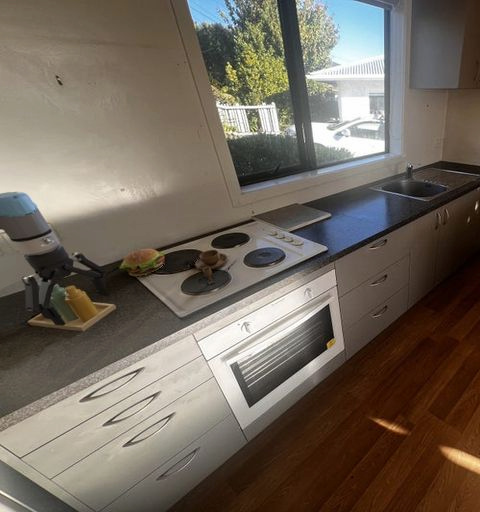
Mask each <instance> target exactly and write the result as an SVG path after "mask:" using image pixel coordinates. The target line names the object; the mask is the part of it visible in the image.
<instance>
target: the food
mask: <svg viewBox="0 0 480 512" xmlns="http://www.w3.org/2000/svg"><path fill="white" fill-rule="evenodd" d="M165 258H166V257H165V253H164V252H162V251H157V250H156V249H154V248H142V249H137V250H135V251H133V252H130V253H128V254H127V255H126V256H125V257H124V259H123V260H122V262H121V264H120V265H119V266H118V268H119V269H120V271H121V272H128V275H130V276H132V277H137V276H139V277H141V276H140V275H145V274H148V273H151V272H154V271H156V270H158V269H159V268H161V267H162V266H163V264H164V265H165V263H166V259H165ZM163 267H164V266H163ZM163 267H162V268H163ZM162 268H161V269H162ZM158 271H159V270H158ZM156 272H157V271H156ZM154 273H155V272H154ZM145 276H146V275H145Z"/></svg>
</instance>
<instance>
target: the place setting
mask: <svg viewBox="0 0 480 512" xmlns="http://www.w3.org/2000/svg"><path fill="white" fill-rule="evenodd" d="M199 258H200V259H199ZM199 258H198V259H199V260H198V259H196V260H197V261H196V260H195V261H196V262H195V264H194V266H195V268H196V269H197V270H199V271H202V272H203V275H204V276H205V277H207V280H208V281H212V280H213V279H212V277H211V276H212V273H213V272H212V271H213V269H214V270H217V269H219V268H221V267H223V266H224V265H225V264H226V263H228V260H229V257H228V255H227V254H225V253H222V252H221V253H220V252H219V250H217V249H209V250H205V251H203V252H201V253H200V254H199ZM235 261H236V262H237V259H235V260H234V261H233V262H232V263H231V264H230V265H228V267H227V268H229V269H230V267H232V266H233V265H234V264H235V263H236V262H235ZM187 267H188V268H190V266H189V264H188V265H187ZM227 268H225V269H226V270H225V269H224V270H225V271H224V272H226V271H228V269H227Z"/></svg>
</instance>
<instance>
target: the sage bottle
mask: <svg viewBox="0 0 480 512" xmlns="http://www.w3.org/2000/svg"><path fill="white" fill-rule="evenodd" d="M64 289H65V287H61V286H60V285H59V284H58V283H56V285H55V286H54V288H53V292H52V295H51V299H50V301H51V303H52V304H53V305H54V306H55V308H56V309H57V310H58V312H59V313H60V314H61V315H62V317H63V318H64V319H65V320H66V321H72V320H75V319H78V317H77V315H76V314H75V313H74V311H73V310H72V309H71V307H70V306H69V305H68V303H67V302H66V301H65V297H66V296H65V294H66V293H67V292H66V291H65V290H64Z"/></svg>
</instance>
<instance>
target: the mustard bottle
mask: <svg viewBox="0 0 480 512" xmlns="http://www.w3.org/2000/svg"><path fill="white" fill-rule="evenodd" d="M64 290H65V291H66V292H67V293H66V294H65V296H66V297H65V301H66V302H67V303H68V305H69V306H70V307H71V309H72V310H73V311H74V313H75V314H76V315H77V317H78V318H79V320H80V321H81V322H82V323H85V322H87V321H88V320H90V319H91V318H93V317H94V316H96V315H97V314H99V312H98V310H97V309H96V307H95V306H94V304H93V303H92V302H93V301H92V300H91V298H90V297H89V295H88V294H87V292H86V291H85V290H81V289H80V288H77V287H76V286H75V285H69V286H66V287H64Z"/></svg>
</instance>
